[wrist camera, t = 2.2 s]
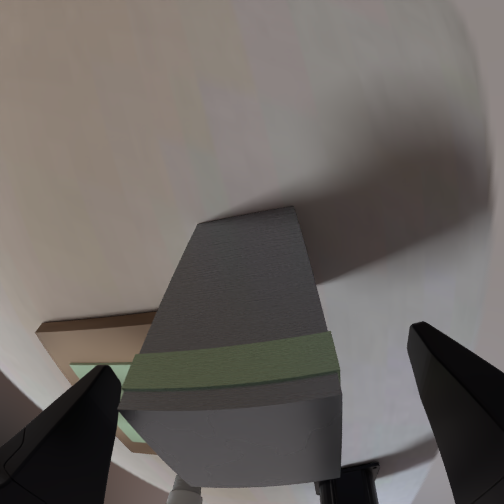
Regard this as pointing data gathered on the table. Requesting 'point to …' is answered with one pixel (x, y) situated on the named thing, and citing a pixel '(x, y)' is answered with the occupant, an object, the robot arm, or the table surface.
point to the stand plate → (99, 354)
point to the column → (240, 362)
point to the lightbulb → (184, 493)
